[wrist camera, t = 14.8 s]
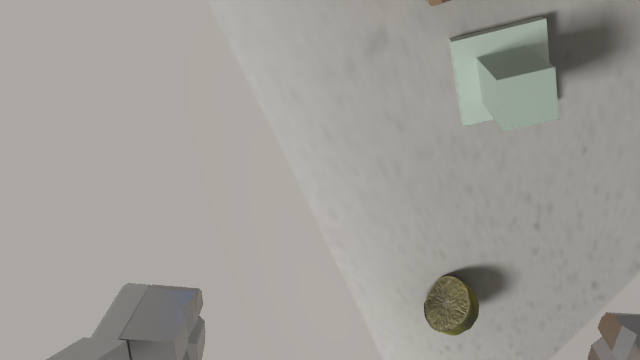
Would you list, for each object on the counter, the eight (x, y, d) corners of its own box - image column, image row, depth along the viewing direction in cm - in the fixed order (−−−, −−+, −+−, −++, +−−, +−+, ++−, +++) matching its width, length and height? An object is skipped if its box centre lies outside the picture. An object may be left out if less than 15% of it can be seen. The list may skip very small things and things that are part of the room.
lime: (420, 307, 50) (427, 345, 45) (427, 266, 48) (435, 301, 43) (467, 311, 50) (478, 349, 45) (476, 269, 48) (489, 306, 43)
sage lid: (448, 38, 39) (468, 62, 32) (540, 15, 38) (580, 35, 31) (461, 120, 41) (481, 157, 35) (547, 101, 40) (585, 136, 34)
